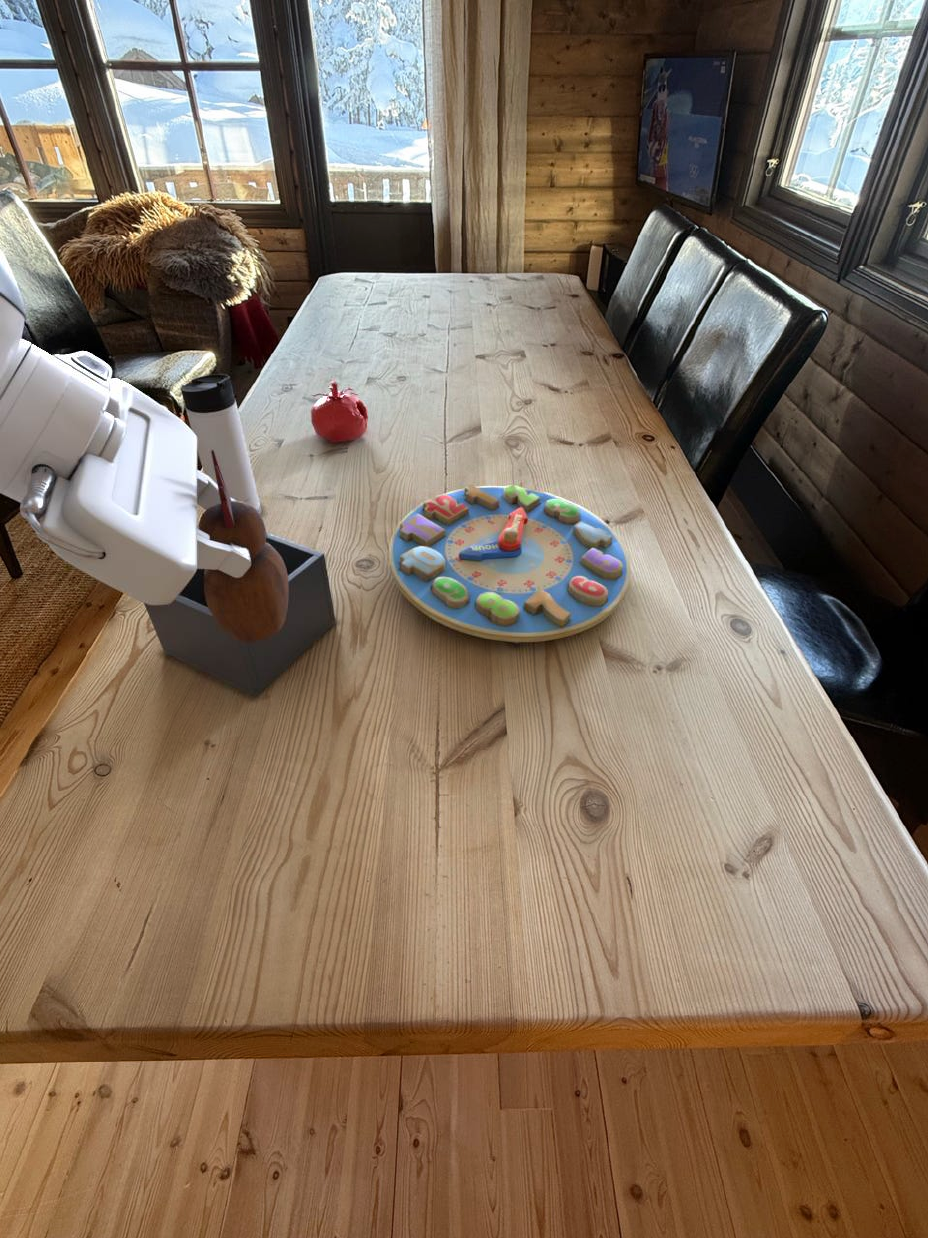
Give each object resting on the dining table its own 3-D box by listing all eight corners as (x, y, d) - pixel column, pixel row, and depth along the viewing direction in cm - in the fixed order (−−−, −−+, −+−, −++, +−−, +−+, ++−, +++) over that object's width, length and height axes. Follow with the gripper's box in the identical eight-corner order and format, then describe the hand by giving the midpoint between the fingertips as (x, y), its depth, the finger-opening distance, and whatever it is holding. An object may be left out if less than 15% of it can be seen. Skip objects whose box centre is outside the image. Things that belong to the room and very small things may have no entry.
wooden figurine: (236, 600, 57) (189, 439, 47) (301, 601, 57) (268, 440, 47) (211, 654, 52) (152, 486, 42) (283, 656, 52) (241, 488, 42)
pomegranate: (325, 453, 110) (317, 399, 104) (304, 430, 116) (296, 378, 110) (379, 440, 114) (374, 387, 108) (356, 418, 120) (350, 367, 114)
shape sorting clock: (527, 693, 69) (531, 652, 65) (341, 575, 85) (335, 536, 81) (673, 565, 86) (683, 527, 82) (495, 486, 102) (497, 450, 98)
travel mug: (248, 529, 93) (212, 390, 79) (208, 521, 94) (166, 383, 81) (271, 507, 97) (241, 372, 84) (233, 500, 99) (198, 366, 86)
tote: (255, 697, 69) (233, 625, 62) (164, 653, 74) (135, 582, 67) (336, 622, 78) (324, 553, 71) (249, 587, 83) (231, 519, 76)
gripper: (42, 477, 32) (281, 596, 41) (91, 342, 47) (259, 450, 56) (-16, 566, 34) (224, 662, 43) (48, 410, 49) (217, 504, 58)
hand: (243, 541), depth 49 cm, fingers closed on wooden figurine, 5 cm apart
